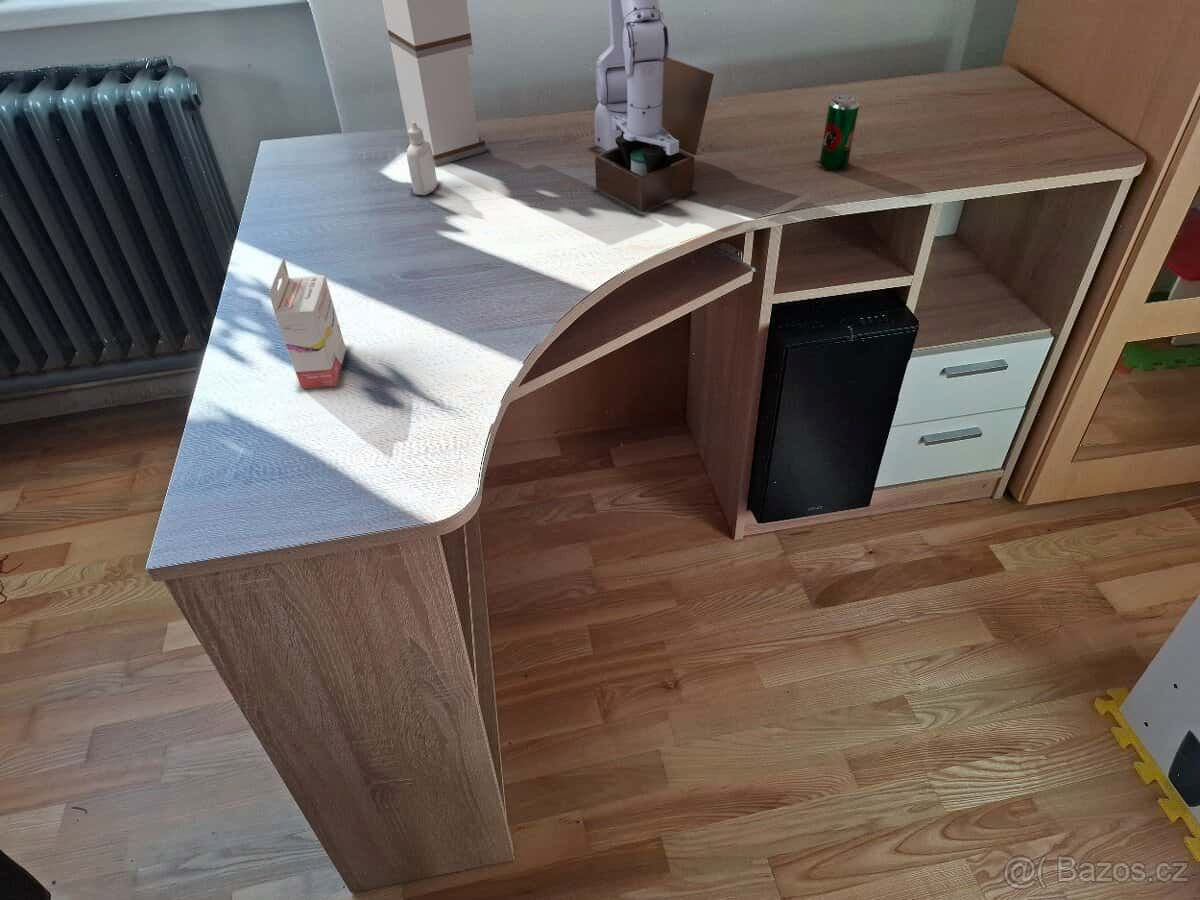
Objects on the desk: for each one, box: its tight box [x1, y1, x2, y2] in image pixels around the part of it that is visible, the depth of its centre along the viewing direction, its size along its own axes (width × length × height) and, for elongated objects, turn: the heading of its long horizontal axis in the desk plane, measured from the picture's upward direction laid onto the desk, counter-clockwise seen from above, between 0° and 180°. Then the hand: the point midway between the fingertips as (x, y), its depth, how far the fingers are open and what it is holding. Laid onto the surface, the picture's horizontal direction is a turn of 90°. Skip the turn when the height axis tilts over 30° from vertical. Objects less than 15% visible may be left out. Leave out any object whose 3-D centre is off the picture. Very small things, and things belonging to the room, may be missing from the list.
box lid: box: [662, 56, 715, 156], centre depth 137 cm, size 13×12×1 cm
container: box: [630, 148, 648, 176], centre depth 140 cm, size 5×5×6 cm
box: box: [594, 142, 695, 213], centre depth 140 cm, size 12×12×6 cm
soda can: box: [819, 93, 860, 171], centre depth 144 cm, size 5×5×12 cm
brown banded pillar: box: [381, 0, 487, 167], centre depth 146 cm, size 11×11×35 cm
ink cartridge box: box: [269, 258, 347, 389], centre depth 104 cm, size 9×5×15 cm, turn 5°
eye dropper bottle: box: [406, 121, 438, 196], centre depth 141 cm, size 4×6×12 cm
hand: (644, 181), depth 141 cm, fingers closed on container, 4 cm apart
